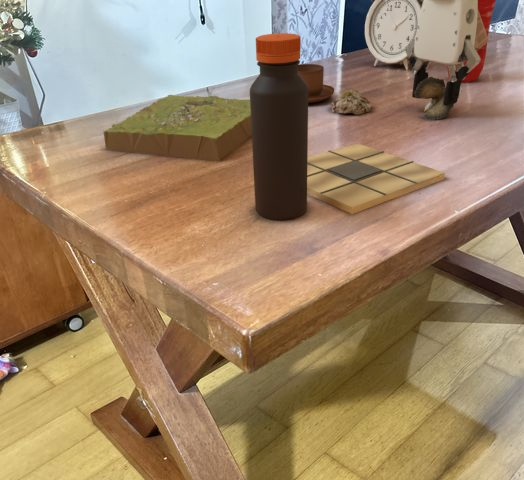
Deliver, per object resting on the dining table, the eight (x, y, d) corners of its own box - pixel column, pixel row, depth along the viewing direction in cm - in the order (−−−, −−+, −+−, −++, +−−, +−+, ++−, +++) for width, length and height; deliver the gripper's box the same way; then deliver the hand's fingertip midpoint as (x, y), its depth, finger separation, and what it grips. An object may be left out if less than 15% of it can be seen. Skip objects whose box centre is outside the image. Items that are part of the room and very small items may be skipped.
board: (444, 179, 77) (445, 171, 76) (351, 214, 69) (352, 205, 68) (356, 149, 89) (356, 141, 88) (268, 176, 81) (268, 168, 80)
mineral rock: (372, 104, 101) (332, 90, 101) (364, 127, 104) (325, 114, 104) (378, 92, 109) (340, 79, 110) (370, 113, 112) (334, 101, 113)
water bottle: (479, 88, 116) (507, -57, 100) (440, 87, 118) (462, -56, 103) (483, 76, 125) (509, -60, 109) (447, 74, 127) (468, -59, 111)
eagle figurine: (415, 99, 107) (403, 101, 100) (441, 66, 103) (430, 65, 96) (444, 125, 106) (433, 128, 99) (471, 93, 102) (462, 94, 95)
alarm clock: (358, 66, 138) (365, -39, 125) (376, 60, 143) (384, -42, 130) (417, 73, 130) (431, -40, 116) (433, 66, 135) (449, -43, 121)
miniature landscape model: (105, 150, 94) (98, 120, 90) (172, 112, 110) (168, 86, 107) (218, 161, 87) (215, 129, 84) (271, 120, 104) (270, 91, 101)
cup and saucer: (292, 110, 108) (292, 77, 104) (268, 97, 117) (267, 66, 113) (344, 101, 112) (346, 69, 108) (316, 90, 121) (317, 59, 117)
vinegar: (245, 215, 70) (234, 40, 58) (272, 196, 75) (267, 30, 62) (291, 225, 67) (289, 43, 55) (316, 205, 72) (320, 33, 59)
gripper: (510, -13, 87) (485, 105, 98) (426, -18, 98) (412, 88, 109) (481, -8, 83) (458, 113, 95) (397, -15, 95) (386, 95, 106)
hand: (434, 99), depth 102 cm, fingers closed on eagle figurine, 6 cm apart
